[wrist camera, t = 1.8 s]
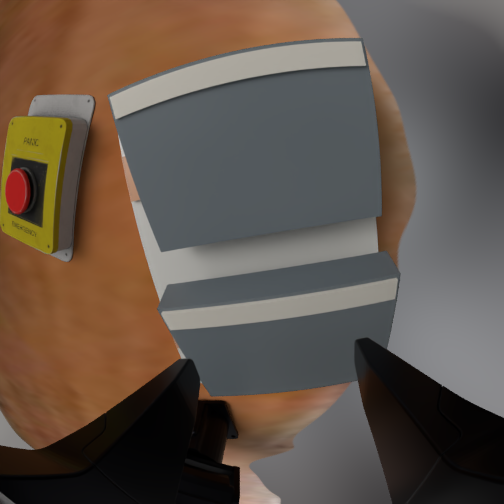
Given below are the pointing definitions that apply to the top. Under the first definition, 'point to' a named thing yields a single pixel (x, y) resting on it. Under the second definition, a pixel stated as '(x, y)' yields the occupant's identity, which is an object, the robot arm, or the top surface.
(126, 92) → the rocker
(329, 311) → the block
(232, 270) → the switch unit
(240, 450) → the top surface
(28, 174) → the emergency button
